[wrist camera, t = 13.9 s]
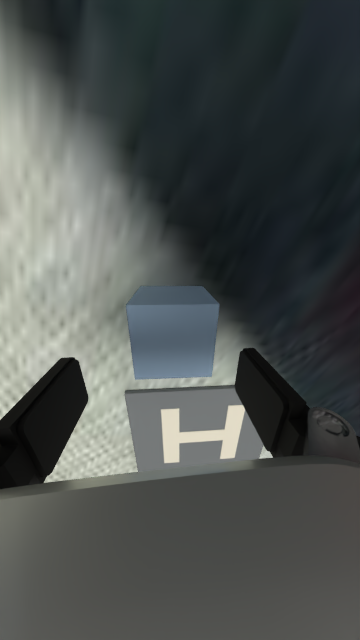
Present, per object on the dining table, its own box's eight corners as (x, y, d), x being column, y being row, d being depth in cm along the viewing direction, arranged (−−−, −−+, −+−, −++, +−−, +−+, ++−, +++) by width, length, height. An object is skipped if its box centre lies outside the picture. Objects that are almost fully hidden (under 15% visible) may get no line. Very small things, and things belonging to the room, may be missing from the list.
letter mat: (279, 383, 22) (282, 386, 21) (255, 462, 29) (256, 466, 28) (125, 390, 21) (124, 394, 20) (139, 471, 28) (138, 475, 27)
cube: (202, 285, 16) (219, 304, 11) (199, 339, 19) (211, 376, 13) (140, 285, 16) (125, 305, 10) (145, 340, 18) (135, 379, 13)
